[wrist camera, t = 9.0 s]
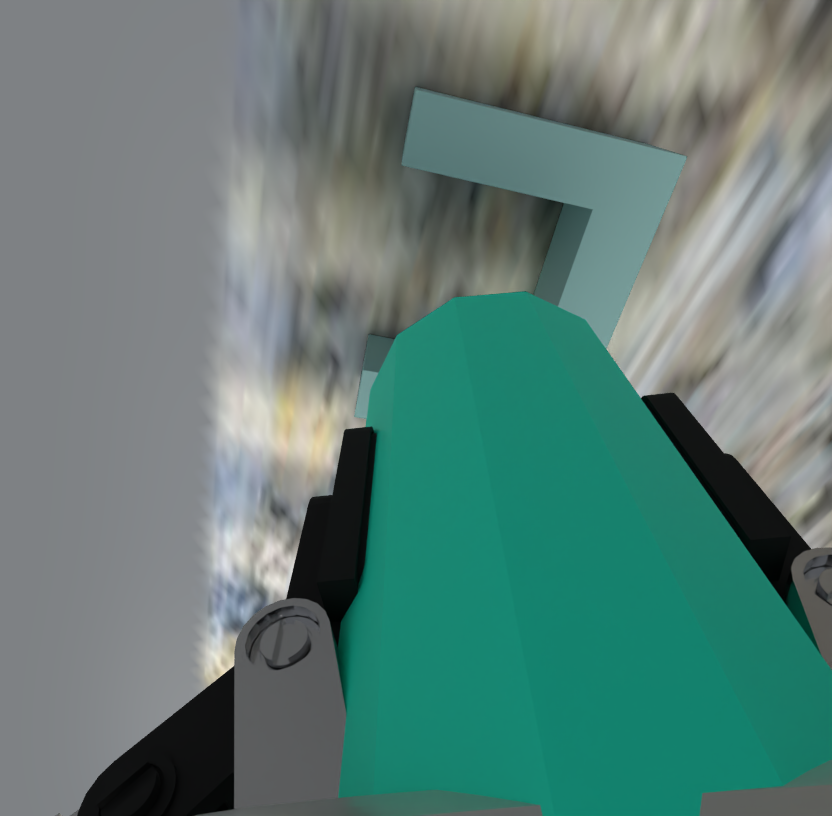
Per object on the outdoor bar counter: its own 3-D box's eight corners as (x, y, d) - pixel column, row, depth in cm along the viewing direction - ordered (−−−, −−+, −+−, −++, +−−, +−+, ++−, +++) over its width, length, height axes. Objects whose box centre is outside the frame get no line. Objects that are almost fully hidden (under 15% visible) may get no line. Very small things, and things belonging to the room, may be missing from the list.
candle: (418, 527, 16) (432, 1379, 6) (328, 340, 13) (11, 1393, 3) (634, 467, 15) (1145, 1369, 5) (590, 250, 12) (1714, 1375, 2)
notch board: (415, 86, 20) (415, 89, 17) (648, 144, 21) (687, 156, 18) (360, 377, 26) (354, 416, 23) (545, 411, 27) (562, 453, 24)
